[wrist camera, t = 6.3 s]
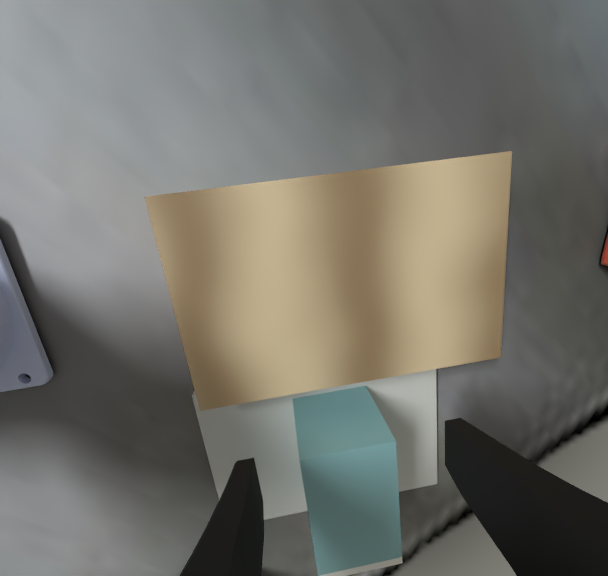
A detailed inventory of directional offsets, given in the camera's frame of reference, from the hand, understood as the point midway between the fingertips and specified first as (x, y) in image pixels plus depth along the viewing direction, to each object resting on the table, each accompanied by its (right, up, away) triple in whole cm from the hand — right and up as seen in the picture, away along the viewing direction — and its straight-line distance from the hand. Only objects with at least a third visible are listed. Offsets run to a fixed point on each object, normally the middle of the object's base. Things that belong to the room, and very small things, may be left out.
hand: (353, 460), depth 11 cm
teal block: (0, 0, +3) cm, 3 cm away
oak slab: (0, +7, +4) cm, 8 cm away
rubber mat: (-1, -2, +6) cm, 7 cm away
